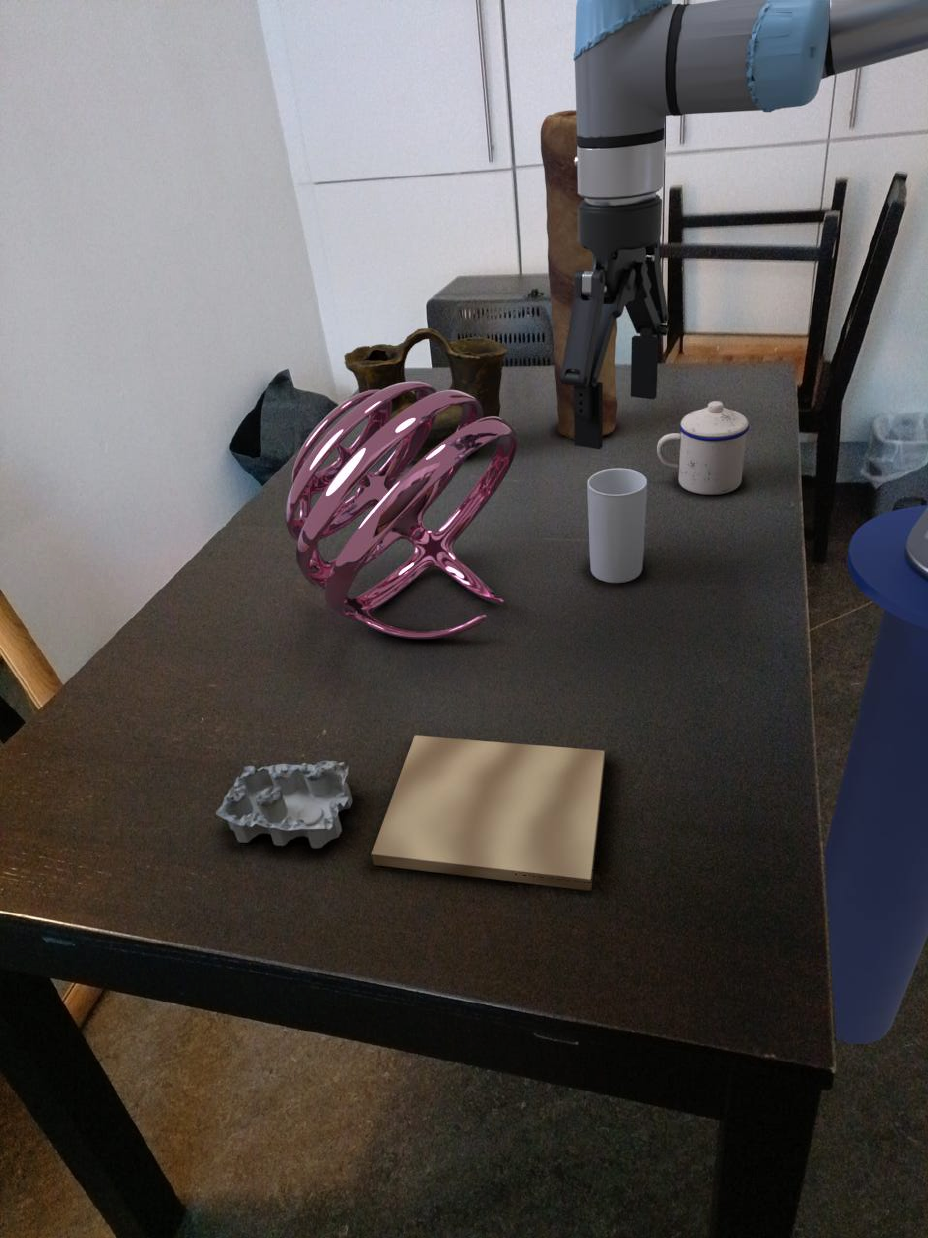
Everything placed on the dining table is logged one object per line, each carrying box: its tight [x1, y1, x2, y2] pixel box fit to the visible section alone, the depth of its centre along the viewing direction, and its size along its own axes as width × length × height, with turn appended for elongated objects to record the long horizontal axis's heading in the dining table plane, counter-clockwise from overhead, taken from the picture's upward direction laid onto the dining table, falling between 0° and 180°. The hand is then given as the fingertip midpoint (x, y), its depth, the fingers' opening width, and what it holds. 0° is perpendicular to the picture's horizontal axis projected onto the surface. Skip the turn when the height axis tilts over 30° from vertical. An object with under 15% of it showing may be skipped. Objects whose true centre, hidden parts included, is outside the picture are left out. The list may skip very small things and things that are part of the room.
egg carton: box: [215, 760, 353, 849], centre depth 73 cm, size 11×8×4 cm
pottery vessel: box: [343, 327, 508, 463], centre depth 128 cm, size 25×11×20 cm, turn 89°
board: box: [370, 734, 606, 892], centre depth 71 cm, size 18×14×2 cm
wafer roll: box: [540, 109, 618, 441], centre depth 123 cm, size 10×11×45 cm
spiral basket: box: [285, 381, 519, 641], centre depth 91 cm, size 28×28×27 cm
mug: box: [586, 467, 648, 584], centre depth 99 cm, size 10×7×12 cm, turn 165°
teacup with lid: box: [656, 400, 750, 496], centre depth 113 cm, size 12×9×12 cm
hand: (617, 420), depth 86 cm, fingers open, 13 cm apart
